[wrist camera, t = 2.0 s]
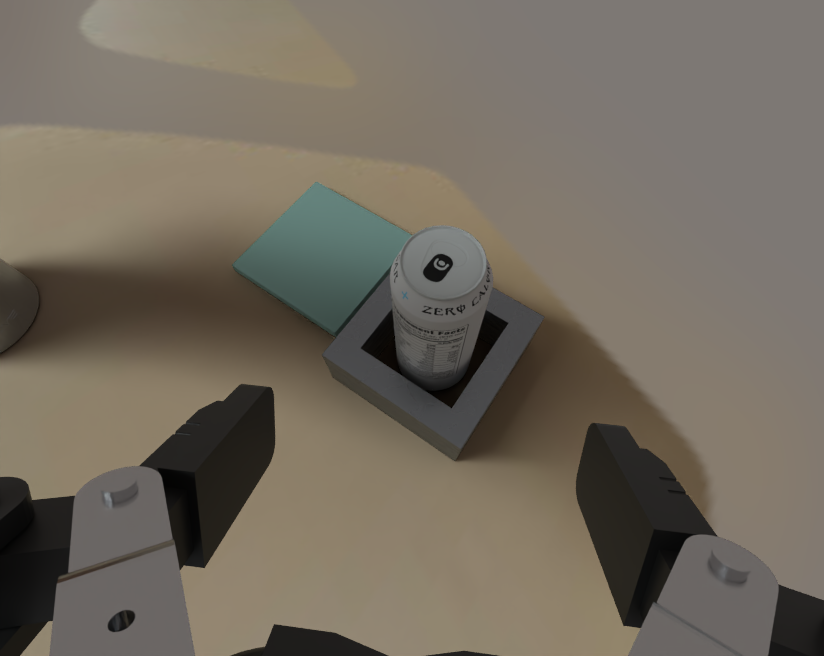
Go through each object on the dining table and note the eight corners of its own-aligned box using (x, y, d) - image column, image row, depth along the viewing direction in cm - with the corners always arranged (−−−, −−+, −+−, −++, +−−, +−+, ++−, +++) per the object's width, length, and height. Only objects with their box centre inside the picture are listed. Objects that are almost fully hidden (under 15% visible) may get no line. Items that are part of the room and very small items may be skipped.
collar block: (332, 377, 38) (321, 354, 34) (414, 275, 42) (414, 243, 38) (454, 461, 35) (461, 449, 31) (529, 343, 39) (544, 316, 35)
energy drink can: (481, 351, 39) (517, 248, 25) (443, 408, 37) (460, 329, 23) (423, 315, 40) (427, 200, 27) (383, 368, 38) (366, 272, 25)
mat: (235, 270, 43) (231, 265, 42) (318, 188, 47) (316, 181, 46) (336, 337, 40) (334, 332, 39) (415, 243, 44) (415, 236, 43)
